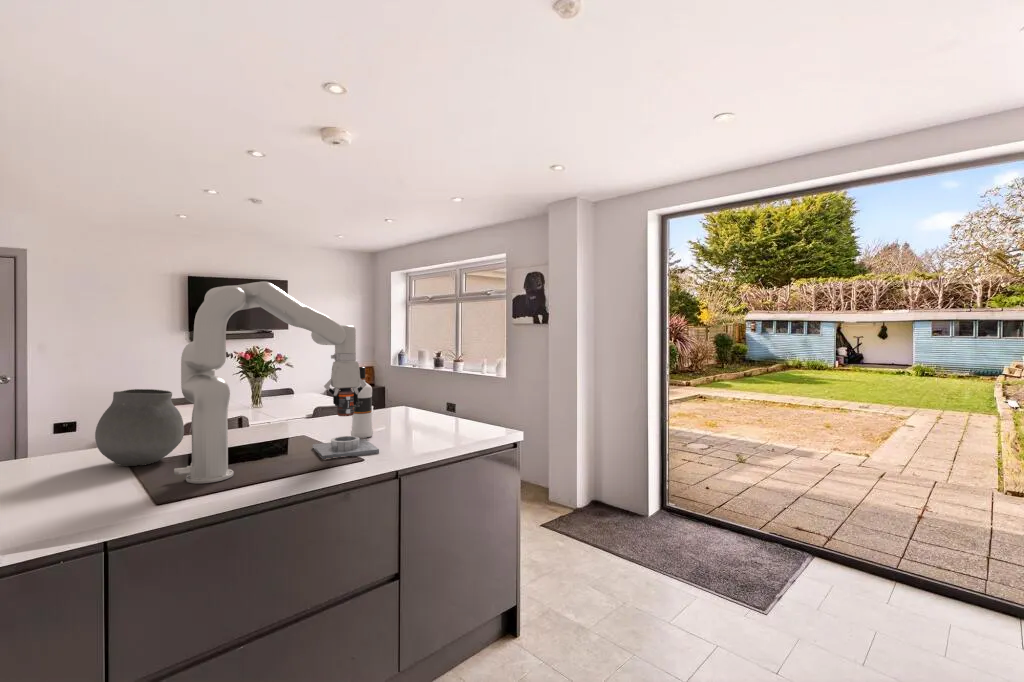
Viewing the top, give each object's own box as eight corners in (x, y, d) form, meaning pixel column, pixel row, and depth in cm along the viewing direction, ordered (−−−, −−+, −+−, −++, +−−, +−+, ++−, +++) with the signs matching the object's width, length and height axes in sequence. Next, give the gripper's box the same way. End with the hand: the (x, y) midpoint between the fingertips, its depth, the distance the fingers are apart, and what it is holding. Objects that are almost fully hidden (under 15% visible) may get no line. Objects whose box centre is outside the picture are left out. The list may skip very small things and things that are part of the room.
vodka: (375, 437, 214) (376, 367, 213) (354, 439, 209) (354, 368, 208) (369, 433, 222) (369, 365, 221) (348, 435, 217) (348, 366, 216)
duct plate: (322, 460, 176) (322, 447, 176) (312, 448, 194) (312, 436, 193) (379, 453, 187) (379, 441, 187) (364, 442, 204) (364, 431, 204)
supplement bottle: (353, 416, 188) (352, 386, 187) (336, 417, 186) (336, 386, 186) (354, 413, 193) (354, 384, 193) (338, 414, 192) (338, 385, 192)
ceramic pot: (182, 466, 166) (181, 392, 166) (87, 477, 154) (86, 396, 153) (185, 451, 187) (185, 384, 187) (103, 459, 175) (102, 387, 174)
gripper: (323, 359, 182) (323, 408, 182) (370, 357, 191) (371, 404, 191) (319, 357, 188) (319, 405, 189) (365, 356, 197) (365, 402, 197)
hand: (345, 404), depth 190 cm, fingers closed on supplement bottle, 6 cm apart
